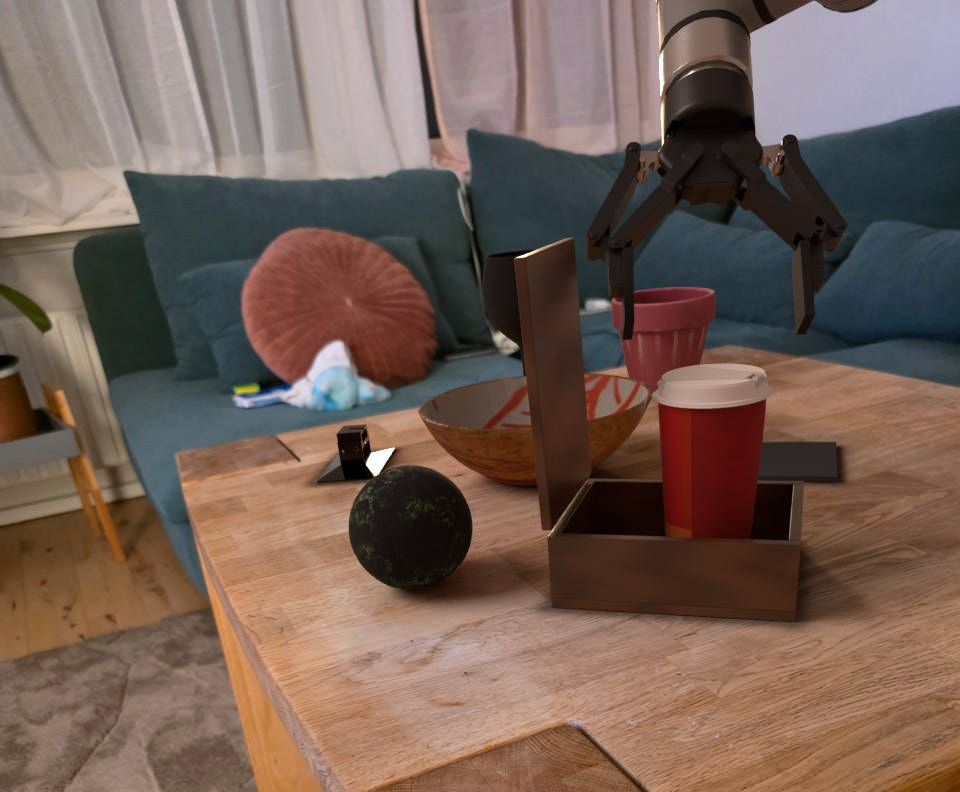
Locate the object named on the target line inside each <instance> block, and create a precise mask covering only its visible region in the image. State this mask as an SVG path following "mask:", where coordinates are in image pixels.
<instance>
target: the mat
mask: <svg viewBox="0 0 960 792" xmlns="http://www.w3.org/2000/svg"><path fill="white" fill-rule="evenodd" d="M838 469H839V468H838V451H837V441H763V442H762V450H761V457H760V465H759V472H758V480H757V481H804V483H838V479H839V473H838V472H839V471H838Z"/></svg>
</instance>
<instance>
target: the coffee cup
mask: <svg viewBox="0 0 960 792" xmlns="http://www.w3.org/2000/svg"><path fill="white" fill-rule="evenodd" d="M772 394H773V390H772V388H771V386H770V385H769V384H768V378H767V373H766V371H765V370H764V369H763V368H761V367H758V366H756V365H750V364H744V363H743V364H742V363H705V364H700V365H694V366H688V367H682V368H678V369H674V370H671V371H668V372H666V373H665V374H663V375H662V379H661V380H660V381H658V389H657V390H656V391H655V392H654V393H653V394H652V395H651V396H652V399H653V401H654V402H656V403H657V409H658V424H659V425H658V426H659V427H658V428H659V446H660V462H661V463H660V464H661V480H662V483H663V500H664V517H665V533H666V537H692V538H723V539H751V531H752V523H753V514H754V506H755V497H756V488H757V480H758V472H759V465H760V457H761V450H762V442H764V441H763V440H764V431H765V422H766V421H765V420H766V410H767V409H766V408H767V399H768V398H770V397H771V396H772Z"/></svg>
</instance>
